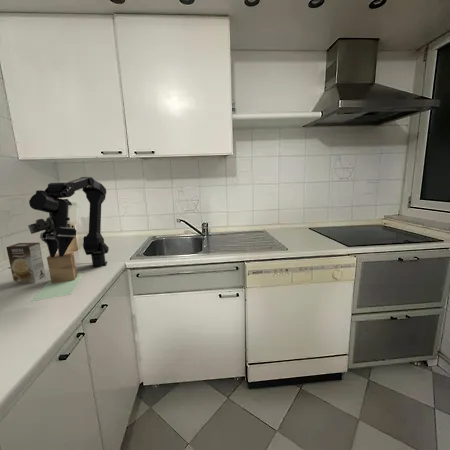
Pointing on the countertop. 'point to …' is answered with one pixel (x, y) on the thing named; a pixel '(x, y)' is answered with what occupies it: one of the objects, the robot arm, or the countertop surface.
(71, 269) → the walnut block
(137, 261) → the countertop surface
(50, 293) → the mat
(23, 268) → the coffee box
